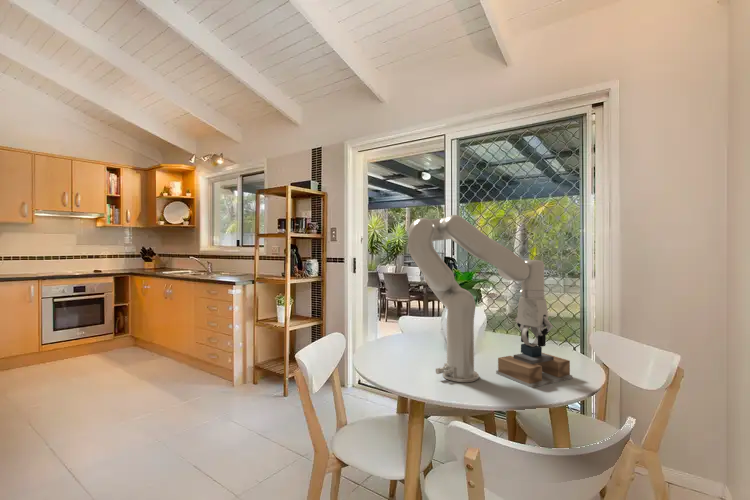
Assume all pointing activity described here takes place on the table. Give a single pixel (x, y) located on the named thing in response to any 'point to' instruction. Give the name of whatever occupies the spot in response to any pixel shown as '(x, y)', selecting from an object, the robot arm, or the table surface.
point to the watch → (527, 347)
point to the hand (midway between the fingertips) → (533, 343)
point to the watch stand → (534, 369)
